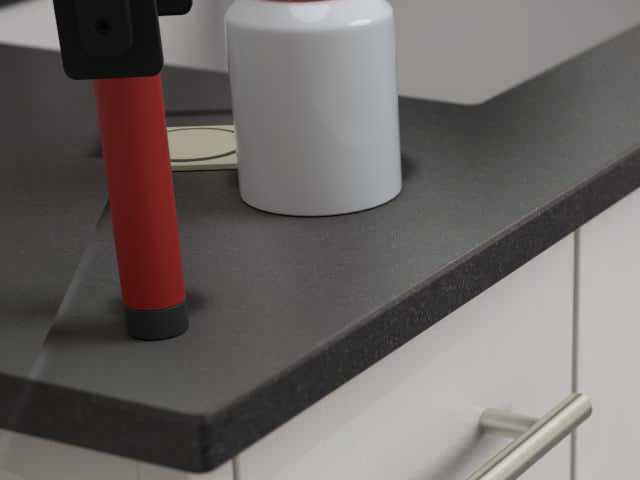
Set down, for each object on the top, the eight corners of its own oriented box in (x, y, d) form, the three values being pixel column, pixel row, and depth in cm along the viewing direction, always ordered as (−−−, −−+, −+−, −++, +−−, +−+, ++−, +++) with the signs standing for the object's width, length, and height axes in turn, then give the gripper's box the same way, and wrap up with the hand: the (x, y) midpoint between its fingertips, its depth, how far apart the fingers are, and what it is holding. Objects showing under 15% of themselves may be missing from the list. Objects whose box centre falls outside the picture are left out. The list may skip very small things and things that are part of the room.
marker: (122, 341, 63) (79, 21, 57) (130, 317, 65) (89, 6, 59) (186, 338, 63) (149, 19, 57) (191, 315, 65) (157, 4, 59)
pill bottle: (221, 178, 80) (198, -55, 75) (370, 158, 83) (358, -69, 78) (265, 226, 74) (244, -25, 69) (425, 202, 77) (416, -42, 71)
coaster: (103, 173, 81) (102, 166, 81) (122, 134, 87) (121, 127, 87) (265, 168, 82) (264, 160, 82) (272, 129, 88) (272, 122, 88)
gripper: (-10, -499, 58) (68, 0, 66) (-147, -546, 42) (-25, 111, 50) (205, -506, 58) (256, -9, 66) (145, -556, 43) (220, 99, 51)
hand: (134, 43), depth 58 cm, fingers open, 9 cm apart
